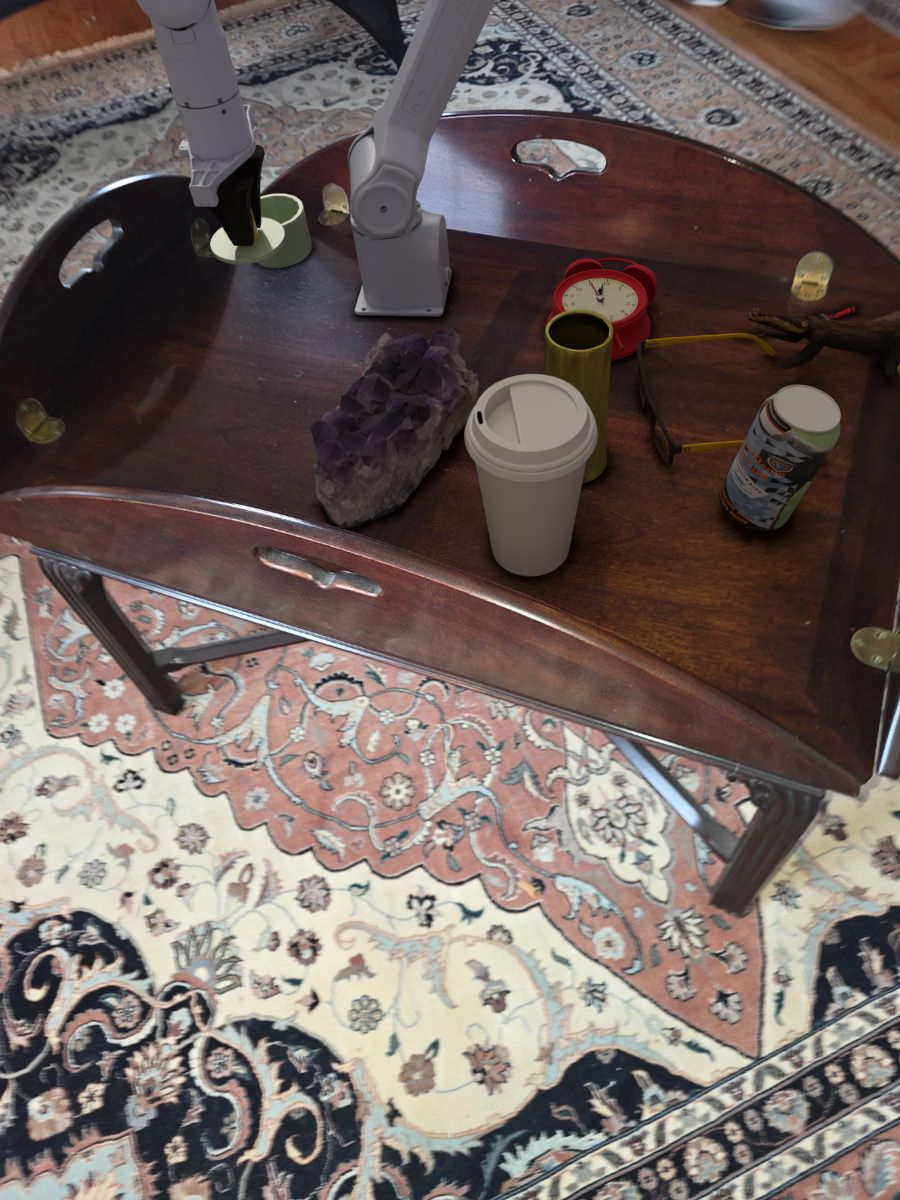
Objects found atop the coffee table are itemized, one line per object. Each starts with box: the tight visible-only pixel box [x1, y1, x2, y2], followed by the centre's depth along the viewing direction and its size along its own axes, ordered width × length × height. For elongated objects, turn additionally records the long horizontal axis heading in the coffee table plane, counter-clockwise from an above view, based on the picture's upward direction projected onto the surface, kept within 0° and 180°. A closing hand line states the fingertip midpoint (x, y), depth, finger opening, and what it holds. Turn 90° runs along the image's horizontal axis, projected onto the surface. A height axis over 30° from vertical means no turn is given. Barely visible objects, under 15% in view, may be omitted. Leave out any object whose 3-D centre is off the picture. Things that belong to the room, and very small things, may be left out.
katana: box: [742, 306, 857, 340], centre depth 87 cm, size 13×2×1 cm, turn 103°
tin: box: [255, 193, 313, 269], centre depth 100 cm, size 7×7×5 cm
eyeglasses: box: [636, 332, 777, 466], centre depth 79 cm, size 14×14×4 cm
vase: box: [543, 309, 613, 485], centre depth 73 cm, size 6×6×14 cm
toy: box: [747, 307, 900, 379], centre depth 82 cm, size 23×7×5 cm, turn 87°
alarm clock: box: [545, 257, 659, 362], centre depth 88 cm, size 10×6×15 cm
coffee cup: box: [463, 373, 598, 577], centre depth 67 cm, size 10×10×15 cm
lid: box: [209, 208, 286, 266], centre depth 87 cm, size 8×8×5 cm
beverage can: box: [718, 384, 842, 532], centre depth 69 cm, size 6×7×12 cm
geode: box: [309, 328, 480, 530], centre depth 77 cm, size 20×12×10 cm, turn 155°
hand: (247, 235), depth 88 cm, fingers closed on lid, 2 cm apart
